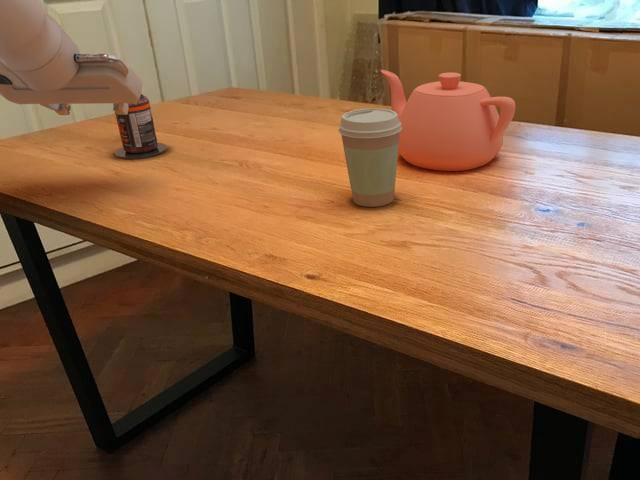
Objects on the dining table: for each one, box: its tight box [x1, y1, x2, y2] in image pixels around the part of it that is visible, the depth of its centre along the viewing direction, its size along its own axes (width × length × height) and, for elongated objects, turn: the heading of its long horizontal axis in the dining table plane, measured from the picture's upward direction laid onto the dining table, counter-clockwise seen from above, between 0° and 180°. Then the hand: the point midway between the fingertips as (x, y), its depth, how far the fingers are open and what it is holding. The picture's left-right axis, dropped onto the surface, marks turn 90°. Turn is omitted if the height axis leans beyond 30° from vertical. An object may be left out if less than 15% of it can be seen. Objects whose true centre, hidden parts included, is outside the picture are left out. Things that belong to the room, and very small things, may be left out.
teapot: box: [380, 69, 517, 172], centre depth 107 cm, size 25×17×13 cm
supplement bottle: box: [112, 93, 159, 153], centre depth 115 cm, size 6×6×11 cm
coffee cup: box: [338, 107, 402, 208], centre depth 91 cm, size 8×8×12 cm
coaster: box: [114, 142, 169, 160], centre depth 118 cm, size 9×9×1 cm
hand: (94, 111), depth 103 cm, fingers open, 8 cm apart
